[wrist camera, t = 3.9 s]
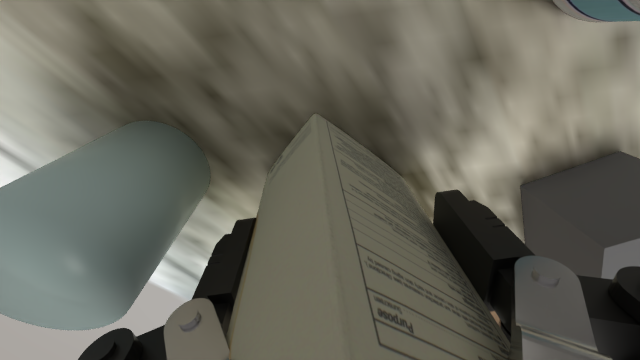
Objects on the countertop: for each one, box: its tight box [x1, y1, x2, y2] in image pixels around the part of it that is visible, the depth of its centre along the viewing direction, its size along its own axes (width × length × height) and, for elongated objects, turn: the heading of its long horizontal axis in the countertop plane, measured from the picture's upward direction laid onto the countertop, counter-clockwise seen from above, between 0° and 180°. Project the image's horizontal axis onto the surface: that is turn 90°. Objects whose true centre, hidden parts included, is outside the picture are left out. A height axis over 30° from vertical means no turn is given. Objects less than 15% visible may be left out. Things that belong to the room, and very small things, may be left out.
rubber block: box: [520, 151, 640, 279], centre depth 14 cm, size 5×5×5 cm
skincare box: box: [226, 113, 511, 360], centre depth 9 cm, size 6×4×12 cm
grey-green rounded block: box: [0, 121, 210, 330], centre depth 11 cm, size 5×5×7 cm
